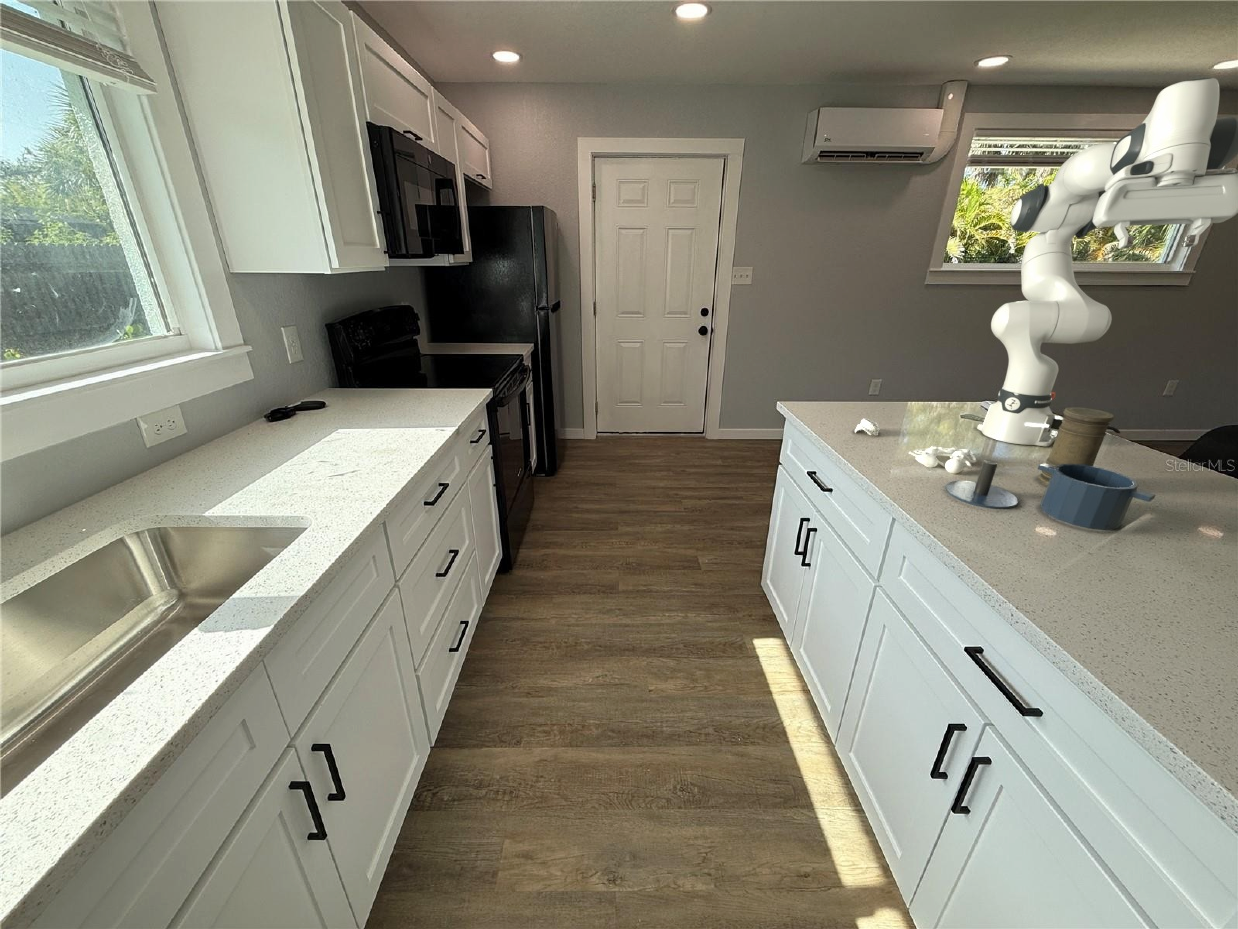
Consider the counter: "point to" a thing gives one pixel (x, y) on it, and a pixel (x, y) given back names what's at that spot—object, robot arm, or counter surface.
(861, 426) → the white arched lump
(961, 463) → the tangled rod sculpture
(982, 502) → the lid
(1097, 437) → the container
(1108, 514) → the pot
